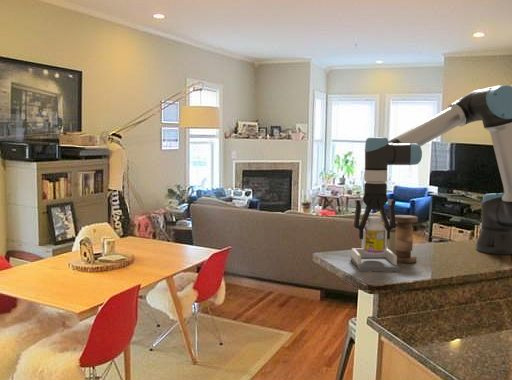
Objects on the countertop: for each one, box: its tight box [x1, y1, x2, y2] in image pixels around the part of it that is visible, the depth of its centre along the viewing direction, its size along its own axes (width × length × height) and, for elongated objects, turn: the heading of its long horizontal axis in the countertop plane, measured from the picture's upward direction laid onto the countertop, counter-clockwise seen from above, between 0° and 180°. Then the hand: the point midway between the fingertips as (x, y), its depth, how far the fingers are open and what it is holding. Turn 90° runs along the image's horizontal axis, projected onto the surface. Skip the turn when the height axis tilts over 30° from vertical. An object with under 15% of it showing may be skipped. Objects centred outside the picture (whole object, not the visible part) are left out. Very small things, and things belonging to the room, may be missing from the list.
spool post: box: [395, 214, 419, 264], centre depth 175 cm, size 9×9×16 cm
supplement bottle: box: [364, 215, 385, 255], centre depth 168 cm, size 7×7×13 cm
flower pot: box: [387, 228, 397, 254], centre depth 188 cm, size 9×9×9 cm
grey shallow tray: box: [350, 247, 401, 273], centre depth 167 cm, size 13×16×4 cm
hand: (374, 248), depth 168 cm, fingers closed on supplement bottle, 7 cm apart
